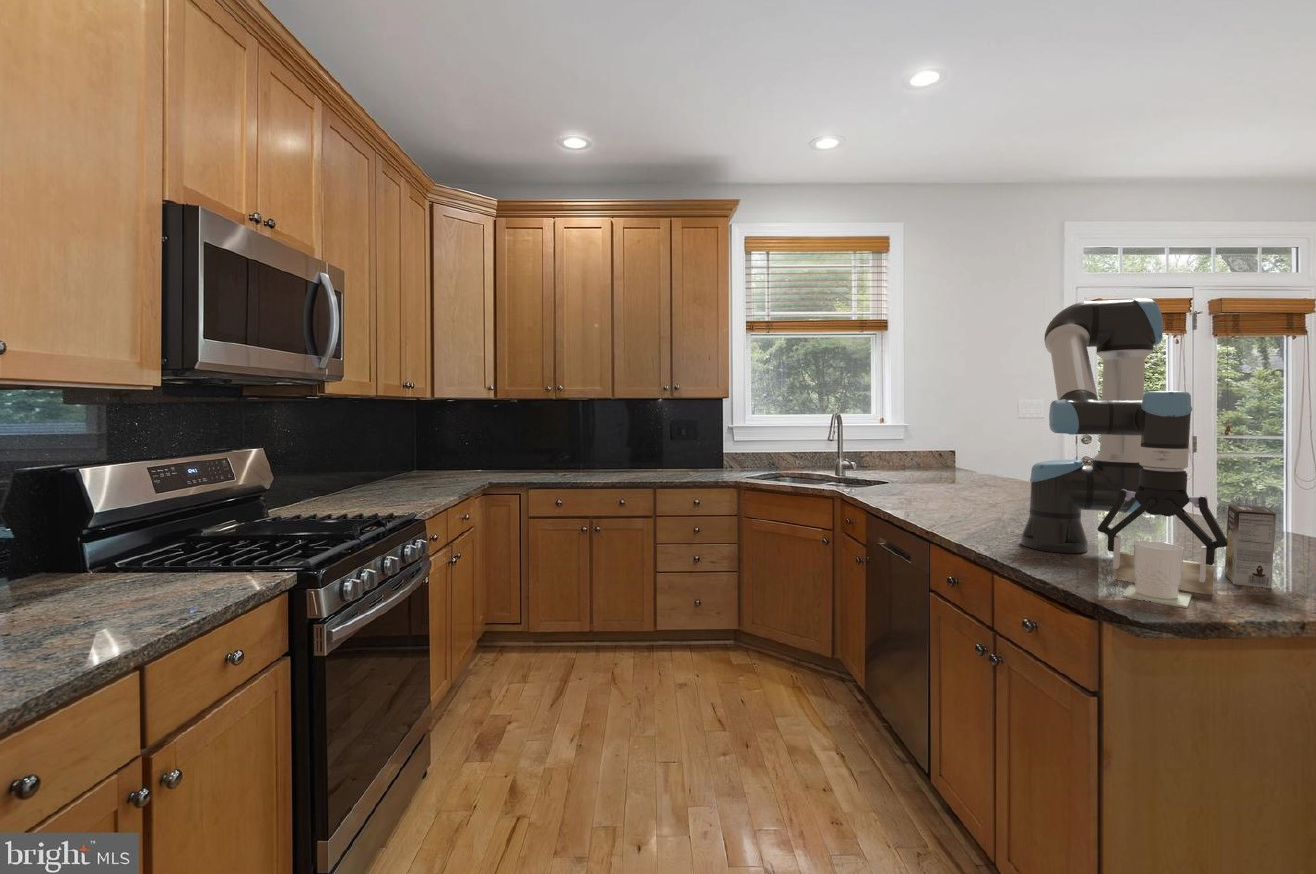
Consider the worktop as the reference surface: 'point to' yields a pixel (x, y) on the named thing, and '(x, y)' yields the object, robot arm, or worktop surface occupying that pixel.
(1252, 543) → the coffee box
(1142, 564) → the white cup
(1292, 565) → the worktop surface
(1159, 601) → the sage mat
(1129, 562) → the birch screen
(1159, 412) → the robot arm
